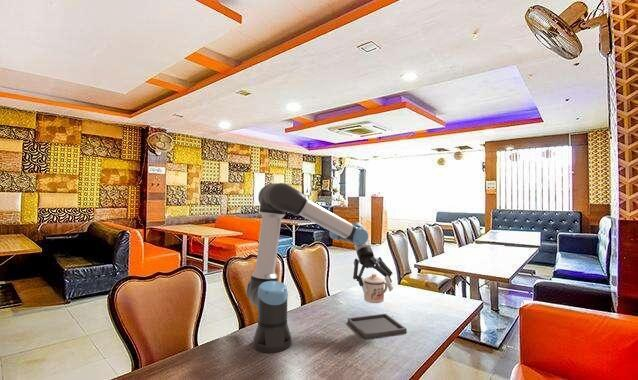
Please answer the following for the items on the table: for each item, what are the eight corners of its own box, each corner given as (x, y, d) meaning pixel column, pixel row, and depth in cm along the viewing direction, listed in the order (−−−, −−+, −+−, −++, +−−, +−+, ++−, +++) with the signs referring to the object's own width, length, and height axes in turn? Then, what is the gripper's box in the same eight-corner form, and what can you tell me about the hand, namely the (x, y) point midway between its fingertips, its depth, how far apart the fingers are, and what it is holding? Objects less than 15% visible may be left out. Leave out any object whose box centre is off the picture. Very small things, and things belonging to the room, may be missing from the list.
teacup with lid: (372, 305, 135) (372, 277, 135) (359, 298, 143) (359, 272, 143) (393, 300, 141) (393, 274, 141) (380, 294, 149) (380, 270, 149)
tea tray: (364, 339, 131) (364, 334, 131) (347, 322, 148) (347, 318, 148) (406, 332, 137) (406, 328, 137) (385, 317, 154) (385, 313, 154)
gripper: (383, 253, 161) (399, 292, 146) (338, 256, 154) (351, 297, 139) (388, 244, 156) (405, 284, 141) (342, 247, 149) (356, 289, 134)
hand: (378, 291), depth 140 cm, fingers closed on teacup with lid, 12 cm apart
